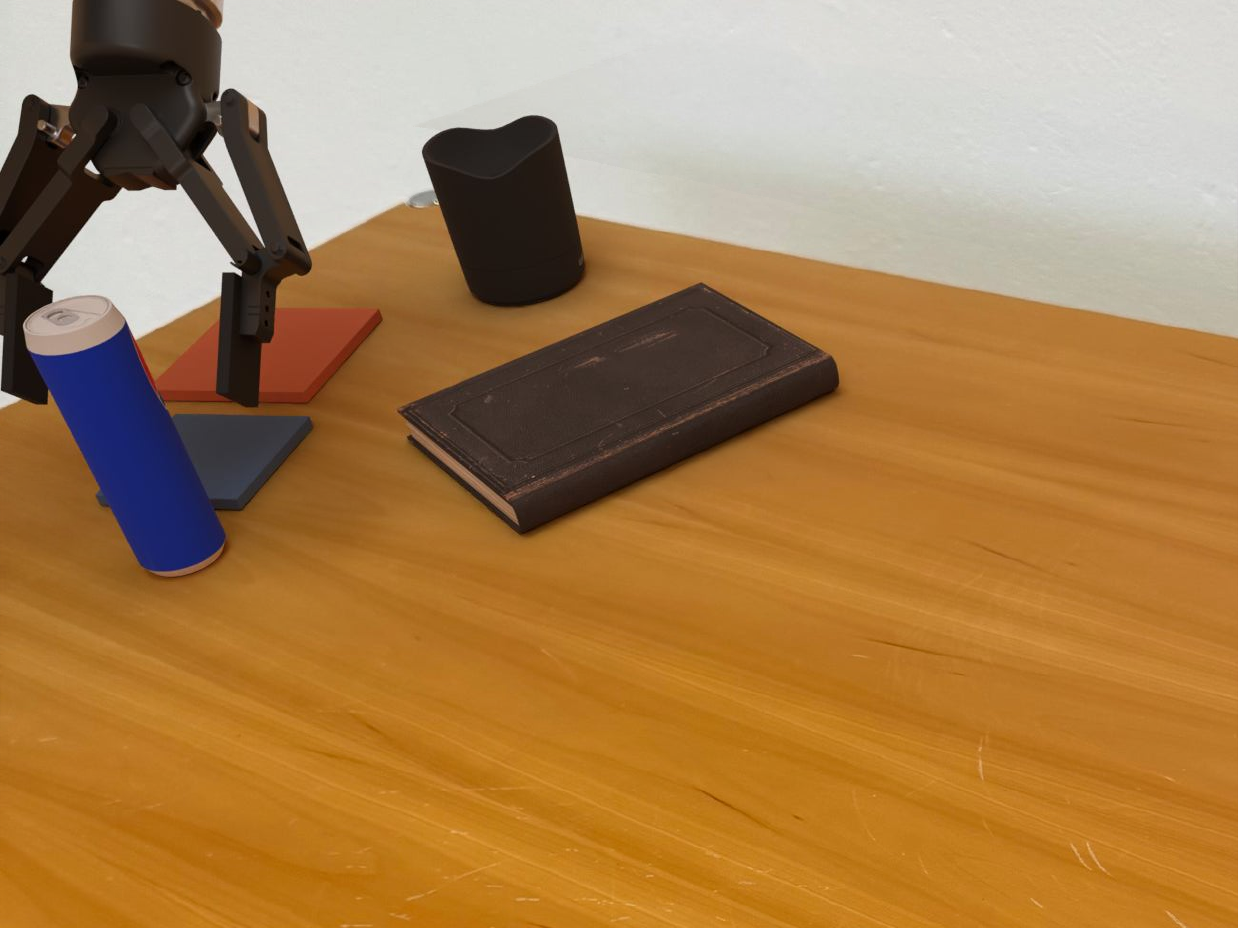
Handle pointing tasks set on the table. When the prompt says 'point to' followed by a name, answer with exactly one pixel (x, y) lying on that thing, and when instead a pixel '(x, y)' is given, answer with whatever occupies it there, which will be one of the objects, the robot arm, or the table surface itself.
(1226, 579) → the table surface
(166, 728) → the table surface
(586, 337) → the hardcover book
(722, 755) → the table surface
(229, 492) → the blue mat
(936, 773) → the table surface
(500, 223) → the pen holder
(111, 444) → the beverage can
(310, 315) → the terracotta mat
